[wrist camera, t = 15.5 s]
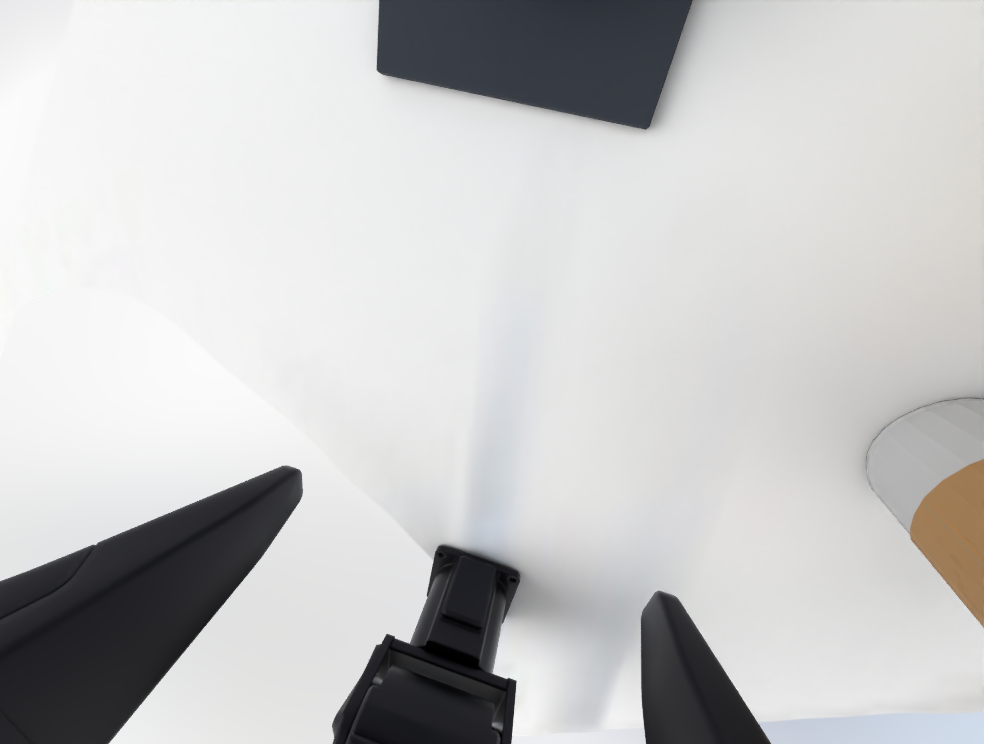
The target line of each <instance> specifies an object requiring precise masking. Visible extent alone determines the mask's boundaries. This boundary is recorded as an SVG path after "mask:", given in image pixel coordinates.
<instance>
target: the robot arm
mask: <svg viewBox="0 0 984 744" xmlns="http://www.w3.org/2000/svg"><path fill="white" fill-rule="evenodd" d="M302 493H303V489H302V474H301V471H300V470H299V469H296V468H293V467H290V466H281V467H279V468H276V469H274V470H272V471H269V472H267V473H264V474H262V475H260V476H257V477H255V478H252V479H250V480H248V481H245V482H243V483H240V484H238V485H236V486H233V487H231V488H228V489H226V490H224V491H221V492H219V493H216V494H214V495H212V496H209V497H207V498H205V499H202V500H199V501H197V502H195V503H192V504H190V505H187V506H185V507H183V508H180V509H178V510H175V511H173V512H171V513H168V514H166V515H164V516H161V517H159V518H156V519H154V520H151V521H149V522H147V523H144V524H142V525H139V526H137V527H135V528H132V529H130V530H127V531H125V532H122V533H120V534H118V535H116V536H113V537H110V538H108V539H106V540H103V541H101V542H99V543H98V544H97V545H91V546H89V547H86V548H84V549H81V550H79V551H77V552H75V553H72V554H69V555H67V556H65V557H62V558H59V559H57V560H54V561H52V562H49V563H47V564H44V565H42V566H39V567H37V568H34V569H32V570H30V571H27V572H24V573H21V574H19V575H16V576H14V577H11V578H8V579H5V580H3V581H0V744H109V743H110V741H111V740H112V739H113V738H114V737H115V735H116V734H117V733H118V732H119V730H120V729H121V728H122V727H123V726H124V724H125V723H126V722H127V721H128V719H129V718H130V717H131V716H132V715H133V713H134V712H135V711H136V710H137V708H138V707H139V706H140V705H141V704H142V702H143V701H144V700H145V699H146V698H147V696H148V695H149V694H150V693H151V692H152V690H153V689H154V688H155V687H156V685H157V684H158V683H159V682H160V681H161V679H162V678H163V677H164V676H165V674H166V673H167V672H168V671H169V670H170V668H171V667H172V666H173V665H174V663H175V662H176V661H177V660H178V659H179V657H180V656H181V655H182V654H183V653H184V651H185V650H186V649H187V648H188V647H189V645H190V644H191V643H192V642H193V640H194V639H195V638H196V637H197V636H198V634H199V633H200V632H201V631H202V629H203V628H204V627H205V626H206V625H207V623H208V622H209V621H210V620H211V619H212V617H213V616H214V615H215V614H216V612H217V611H218V610H219V609H220V608H221V606H222V605H223V604H224V603H225V602H226V600H227V599H228V598H229V597H230V595H231V594H232V593H233V592H234V590H235V589H236V588H237V587H238V586H239V584H240V583H241V582H242V581H243V580H244V578H245V577H246V576H247V575H248V574H249V572H250V571H251V570H252V569H253V567H254V566H255V565H256V563H257V562H258V561H259V560H260V559H261V557H262V556H263V555H264V553H265V552H266V550H267V549H268V547H269V546H270V545H271V543H272V541H273V540H274V539H275V537H276V536H277V534H278V533H279V531H280V530H281V528H282V527H283V525H284V524H285V522H286V521H287V519H288V518H289V517H290V515H291V513H292V512H293V511H294V509H295V508H296V506H297V505H298V503H299V502H300V500H301V497H302ZM519 581H520V574H519V573H518V572H516V571H514V570H511V569H508V568H506V567H503V566H500V565H497V564H494V563H491V562H488V561H485V560H482V559H480V558H477V557H474V556H471V555H468V554H465V553H462V552H459V551H456V550H454V549H451V548H448V547H445V546H439V547H438V548H437V550H436V552H435V557H434V562H433V567H432V572H431V577H430V582H429V587H428V592H427V597H428V598H427V600H426V603H425V606H424V608H423V611H422V614H421V616H420V619H419V621H418V624H417V626H416V629H415V632H414V634H413V637H412V640H411V642H410V644H409V643H406V642H403V641H400V640H398V639H395V637H394V636H392V635H389V634H387V635H386V636H385V638H384V640H383V642H382V644H380V645H376V647H375V649H374V651H373V653H372V656H371V658H370V660H369V662H368V664H367V666H366V669H365V671H364V673H363V674H362V676H361V678H360V679H359V681H358V682H357V684H356V686H355V687H354V689H353V690H352V691H351V693H350V695H349V696H348V698H347V699H346V701H345V702H344V704H343V705H342V707H341V708H340V710H339V711H338V713H337V715H336V717H335V719H334V721H333V724H332V728H333V733H334V741H333V744H511V740H512V728H513V717H514V705H515V693H516V680H513V679H510V678H508V679H505V678H502V677H499V676H497V675H494V674H492V673H493V668H494V663H495V657H496V652H497V647H498V641H499V636H500V631H501V625H502V623H503V622H504V619H505V617H506V614H507V612H508V609H509V607H510V604H511V602H512V599H513V597H514V594H515V592H516V589H517V587H518V584H519ZM641 690H642V708H643V719H644V728H645V738H646V744H771V743H770V741H769V740H768V738H767V737H766V735H765V733H764V732H763V730H762V729H761V727H760V725H759V724H758V722H757V721H756V719H755V718H754V716H753V715H752V713H751V711H750V710H749V708H748V707H747V705H746V704H745V702H744V701H743V699H742V697H741V696H740V694H739V693H738V691H737V690H736V688H735V686H734V685H733V683H732V682H731V680H730V679H729V677H728V676H727V674H726V672H725V671H724V669H723V668H722V666H721V665H720V663H719V661H718V660H717V658H716V657H715V655H714V654H713V652H712V651H711V649H710V647H709V646H708V644H707V643H706V641H705V640H704V638H703V637H702V635H701V633H700V632H699V630H698V629H697V627H696V626H695V624H694V622H693V621H692V619H691V618H690V616H689V615H688V613H687V612H686V610H685V608H684V607H683V605H682V604H681V602H680V601H679V599H678V598H677V597H675V596H673V595H671V594H668V593H665V592H662V591H657V592H655V594H654V595H653V596H652V598H651V599H650V601H649V602H648V604H647V605H646V607H645V608H644V610H643V612H642V616H641Z"/></svg>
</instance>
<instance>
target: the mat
mask: <svg viewBox="0 0 984 744" xmlns="http://www.w3.org/2000/svg"><path fill="white" fill-rule="evenodd" d="M691 3H692V0H379V24H378V50H377V71H378V72H379V73H381V74H383V75H388V76H393V77H397V78H402V79H407V80H412V81H417V82H421V83H426V84H431V85H436V86H440V87H445V88H450V89H455V90H460V91H464V92H469V93H474V94H479V95H484V96H488V97H493V98H498V99H503V100H507V101H512V102H517V103H522V104H527V105H531V106H536V107H541V108H546V109H551V110H555V111H560V112H565V113H570V114H574V115H579V116H584V117H589V118H594V119H598V120H603V121H608V122H613V123H618V124H622V125H627V126H632V127H637V128H641V129H647V128H648V127H649V126H650V123H651V120H652V117H653V114H654V111H655V108H656V106H657V103H658V100H659V97H660V94H661V91H662V88H663V85H664V82H665V79H666V76H667V73H668V71H669V68H670V65H671V62H672V59H673V56H674V53H675V50H676V47H677V44H678V41H679V38H680V35H681V33H682V30H683V27H684V24H685V21H686V18H687V15H688V12H689V9H690V6H691Z"/></svg>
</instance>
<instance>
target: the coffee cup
mask: <svg viewBox="0 0 984 744" xmlns="http://www.w3.org/2000/svg"><path fill="white" fill-rule="evenodd" d="M866 468H867V471H868V473H867V478H868V480H869V483H870V486H871V488H872V490H873V491H874V492H875V494H876V495H877V496H878V497H879V498H880V500H881V501H882V502H883V503H884V504H885V506H886V507H887V508H888V509H889V510H890V512H891V513H892V514H893V515H894V516H895V518H896V519H897V520H898V521H899V522H900V523H901V525H902V526H903V527H904V528H905V529H906V531H907V532H908V533H909V534H910V536H911V540H912V541H913V543H914V544H915V545H916V546H917V547H918V549H919V550H920V551H921V552H922V553H923V555H924V556H925V557H926V558H927V559H928V561H929V562H930V563H931V564H932V565H933V567H934V568H935V569H936V570H937V572H938V573H939V574H940V575H941V576H942V578H943V579H944V580H945V581H946V582H947V584H948V585H949V586H950V587H951V588H952V590H953V591H954V592H955V593H956V594H957V596H958V597H959V598H960V599H961V601H962V602H963V603H964V604H965V605H966V607H967V608H968V609H969V610H970V611H971V613H972V614H973V615H974V616H975V617H976V619H977V620H978V621H979V622H980V623H981V625H982V626H983V627H984V399H972V398H965V399H957V400H949V401H942V402H939V403H935V404H932V405H928V406H925V407H921V408H919V409H917V410H915V411H913V412H910V413H908V414H906V415H904V416H902V417H900V418H899V419H897V420H896V421H894V422H893V423H892V424H890V425H889V426H887V427H886V428H885V429H884V430H883V431H882V432H881V433H880V434H879V435H878V436H877V437H876V439H875V440H874V441H873V442H872V445H871V447H870V449H869V451H868V453H867V460H866Z"/></svg>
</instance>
